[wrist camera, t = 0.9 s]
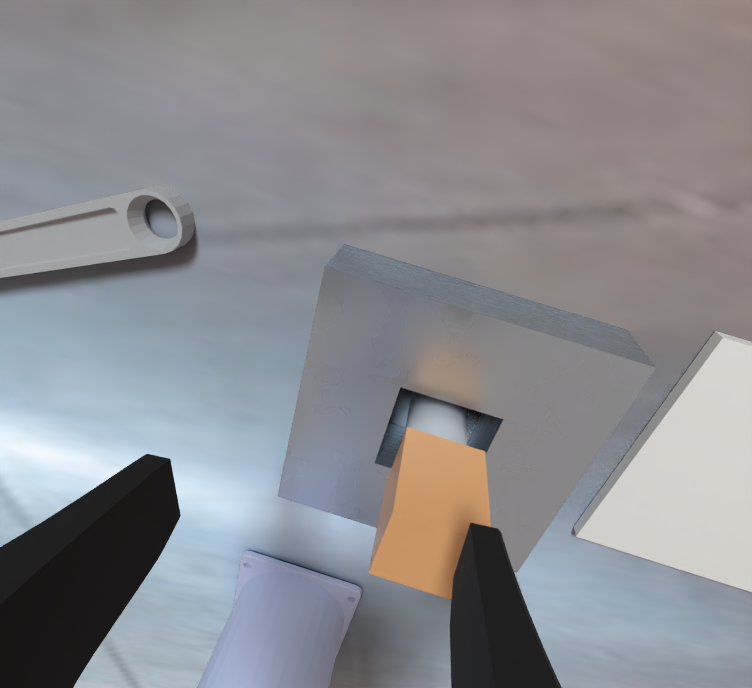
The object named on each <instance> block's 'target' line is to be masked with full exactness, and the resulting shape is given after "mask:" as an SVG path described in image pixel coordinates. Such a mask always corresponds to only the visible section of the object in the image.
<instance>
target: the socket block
mask: <svg viewBox="0 0 752 688" xmlns="http://www.w3.org/2000/svg"><path fill="white" fill-rule="evenodd" d="M655 369H656V367H655V365H654V364H653V363H652V362H651V360H650V359H649V358H648V356H647V355H646V354H645V352H644V351H643V350H642V349H641V347H640V346H639V345H638V343H637V342H636V341H635V339H634V338H633V337H632V336H631V334H630V333H629V332H628V330H625V329H622V328H618V327H615V326H612V325H608V324H605V323H602V322H599V321H595V320H592V319H589V318H585V317H582V316H579V315H575V314H572V313H569V312H566V311H562V310H559V309H556V308H552V307H549V306H546V305H542V304H539V303H536V302H533V301H529V300H526V299H523V298H519V297H516V296H513V295H509V294H506V293H503V292H500V291H496V290H493V289H490V288H486V287H483V286H480V285H476V284H473V283H470V282H467V281H463V280H460V279H457V278H453V277H450V276H447V275H443V274H440V273H437V272H434V271H430V270H427V269H424V268H420V267H417V266H414V265H411V264H407V263H404V262H401V261H397V260H394V259H391V258H387V257H384V256H381V255H378V254H374V253H371V252H368V251H364V250H361V249H358V248H354V247H351V246H348V245H345V244H344V245H343V246H342V247H341V249H340V250H339V251H338V252H337V253H336V254H335V255H334V257H333V258H332V259H331V260H330V261H329V262H328V263H327V265H326V266H325V268H324V272H323V277H322V282H321V287H320V292H319V297H318V302H317V307H316V311H315V316H314V321H313V326H312V331H311V336H310V341H309V345H308V350H307V355H306V360H305V365H304V370H303V375H302V380H301V384H300V389H299V394H298V399H297V404H296V409H295V414H294V419H293V423H292V428H291V433H290V438H289V443H288V448H287V453H286V458H285V462H284V467H283V472H282V477H281V482H280V487H279V492H278V496H279V497H282V498H285V499H288V500H291V501H294V502H298V503H301V504H304V505H307V506H310V507H313V508H316V509H319V510H323V511H326V512H329V513H332V514H335V515H338V516H341V517H344V518H348V519H351V520H354V521H357V522H360V523H363V524H366V525H369V526H373V527H376V528H377V527H378V521H379V516H380V511H381V506H382V501H383V496H384V491H385V486H386V482H387V479H388V476H389V474H390V471H391V468H392V466H393V463H394V460H395V458H396V455H397V452H398V450H399V447H400V444H401V442H402V439H403V436H404V434H405V429H406V428H404V427H400V426H397V425H394V424H391V423H388V422H389V419H390V416H391V414H392V411H393V408H394V405H395V402H396V399H397V396H398V393H399V390H400V387H401V388H404V389H407V390H411V391H414V392H417V393H420V394H424V395H427V396H430V397H433V398H436V399H440V400H443V401H446V402H449V403H452V404H456V405H459V406H462V407H465V408H469V409H472V410H475V411H478V412H481V416H480V418H479V420H478V422H477V424H476V426H475V428H474V430H473V432H472V435H471V437H470V439H469V441H468V443H467V446H470V447H473V448H476V449H479V450H483V451H485V455H486V468H487V481H488V494H489V507H490V520H491V527H494V528H498V529H499V530H500V532H501V533H502V536H503V540H504V543H505V547H506V550H507V553H508V556H509V559H510V562H511V565H512V568H513V571H514V572H516V573H517V572H518V570H519V569H520V567H521V566H522V564H523V563H524V562H525V560H526V559H527V557H528V556H529V554H530V553H531V551H532V550H533V548H534V547H535V545H536V544H537V542H538V541H539V539H540V538H541V537H542V535H543V534H544V532H545V531H546V529H547V528H548V526H549V525H550V523H551V522H552V520H553V519H554V517H555V516H556V514H557V513H558V511H559V510H560V509H561V507H562V506H563V504H564V503H565V501H566V500H567V498H568V497H569V495H570V494H571V492H572V491H573V489H574V488H575V486H576V485H577V484H578V482H579V481H580V479H581V478H582V476H583V475H584V473H585V472H586V470H587V469H588V467H589V466H590V464H591V463H592V461H593V460H594V458H595V457H596V456H597V454H598V453H599V451H600V450H601V448H602V447H603V445H604V444H605V442H606V441H607V439H608V438H609V436H610V435H611V433H612V432H613V431H614V429H615V428H616V426H617V425H618V423H619V422H620V420H621V419H622V417H623V416H624V414H625V413H626V411H627V410H628V408H629V407H630V405H631V404H632V403H633V401H634V400H635V398H636V397H637V395H638V394H639V392H640V391H641V389H642V388H643V386H644V385H645V383H646V382H647V380H648V379H649V378H650V376H651V375H652V373H653V372H654V370H655Z"/></svg>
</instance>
